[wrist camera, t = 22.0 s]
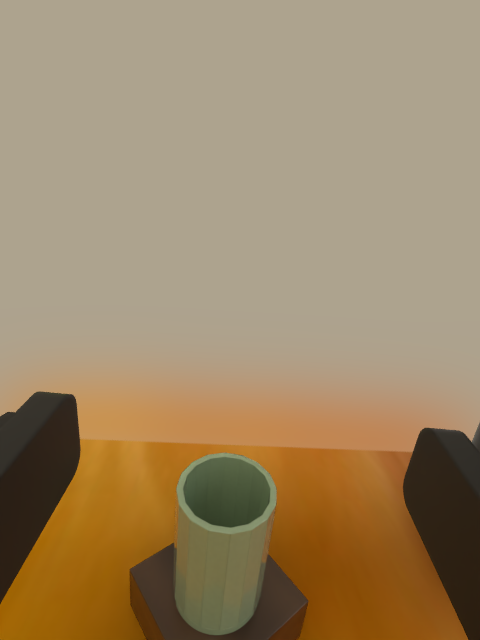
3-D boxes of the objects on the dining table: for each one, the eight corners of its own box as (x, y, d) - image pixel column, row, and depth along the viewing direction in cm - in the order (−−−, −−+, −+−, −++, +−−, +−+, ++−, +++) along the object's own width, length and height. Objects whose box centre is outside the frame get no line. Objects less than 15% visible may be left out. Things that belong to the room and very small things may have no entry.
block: (226, 541, 33) (229, 508, 32) (300, 636, 27) (308, 600, 25) (130, 604, 28) (129, 568, 26) (194, 742, 21) (197, 705, 20)
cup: (225, 531, 30) (235, 441, 26) (277, 596, 26) (297, 499, 22) (157, 575, 26) (158, 477, 23) (205, 659, 22) (215, 554, 19)
